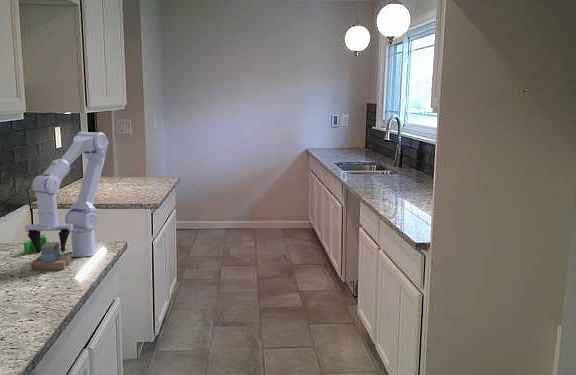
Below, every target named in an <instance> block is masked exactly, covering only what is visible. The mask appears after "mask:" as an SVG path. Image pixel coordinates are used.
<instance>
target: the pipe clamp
mask: <svg viewBox="0 0 576 375" xmlns="http://www.w3.org/2000/svg"><path fill="white" fill-rule="evenodd" d="M47 238H48V237H47V236H45V234H40V243H41V247H42V246H43V245H44V244H45V243H47V242H48V239H47ZM23 248H24V250H23V251H24V255H26V256H27V255H28V256H29V255H30V254H33V253H37V251H36V248H35V246H34V244H33V242H32V241H31V239H28V240H27V241H25V242H23Z"/></svg>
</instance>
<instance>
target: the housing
mask: <svg viewBox="0 0 576 375" xmlns="http://www.w3.org/2000/svg"><path fill="white" fill-rule="evenodd" d="M60 254H61V246H60V241H49V242H48V241H47V243H45V244H44V245H43V246H42V247H41V252H40V255H41V256H42V262H55V261H56V260H57V259H58V258H59V257H60Z"/></svg>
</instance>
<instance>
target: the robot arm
mask: <svg viewBox="0 0 576 375" xmlns="http://www.w3.org/2000/svg"><path fill="white" fill-rule="evenodd" d="M72 140H73V142H72V144H71V145H70V147H69V148H68V149H67V150H66V152H65V153H64V154H63V156H62V157H61V158H59V159H58V158H57V159H55V160H54V159H53V160H52V161H51V164H50V165H49V166H48V167H47V169H45V170H44V171H43V172H42V174H41V175H38V176H36V177H35V178H34V179H33V181H32V184H31V189H32V191H33V193H34V195H35V198H36V201H37V203H36V204H37V213H38V223H36V224H27V225H25V226H24V232H25V233H28V234H27V237H28V238H29V240H31V241H32V242H33V244H34V246H35V248H36V251H37V252H36V253H37V254H41V243H40V235H41V232H50V231H51V232H52V231H53V232H54V231H59V232H58V236H59V244H60V253H65V251H66V246H67V241H68V238H69V235H71V236H70V237H71V249H72V250H71V253H70V254H71V258H76V257H77V258H78V257H81V258H85V257H93V256H94V255H95V254H96V252H97V250H99V247H96V237H95V231H94V229H95V228H96V226H97V223H98V212H99V211H98V209H97V208H96V207H95V206H94V202H95V198H96V195H97V194H96V193H97V191H98V187H99V182H100V180H101V175H102V171H103V168H104V164H105V161H106V154H107V149H108V145H109V139H108V138H107V136H106V134H105V133H104V132H101V131H100V132H93V131H91V132H90V131H89V132H87V131H79V132H77V134H76V135H75V136H74V137H73V139H72ZM82 154H83V155H84V156H85V157H86V159H87V164H86V167H85V169H84V170H85V171H84V175H83V179H82V182H81V186H80V189H79V193H78V197H77V201H75V202H74V203H73V204H71V205H70V206H69V209H68V211H67V213H66V214H65V217H64V223H62V222H59V217H58V215H59V214H58V204H57V192H58V191H59V189H60V187H61V186H60V185H61V183H62V180H64V178H65V177H66V176H67V175H68V174H69V172H70V171H71V167H70V166H71V165H72V163H74V162H75V161H76V160H77V159H78V157H80V156H81V155H82Z"/></svg>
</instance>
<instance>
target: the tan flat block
mask: <svg viewBox="0 0 576 375" xmlns="http://www.w3.org/2000/svg"><path fill="white" fill-rule="evenodd" d="M71 262H72V257H71V253H66V254H64V253H62V254H61V253H60V257H59V258H58V259H57V260H56V261H55V262H42V256H41V254H40V255H39V256H38V257H37V258H35V260H33V261H32V263H31V264H30V265H31V272H39V271H40V272H41V271H42V272H43V271H65V269H66V268H67V267H68V266H69V265H70V264H71Z"/></svg>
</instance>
